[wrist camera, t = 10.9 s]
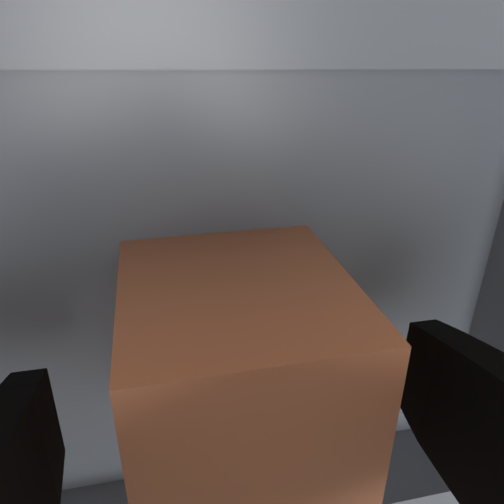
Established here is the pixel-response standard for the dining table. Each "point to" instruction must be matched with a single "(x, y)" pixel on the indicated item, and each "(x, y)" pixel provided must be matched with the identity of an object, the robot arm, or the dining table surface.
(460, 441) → the robot arm
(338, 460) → the block
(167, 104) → the tray
